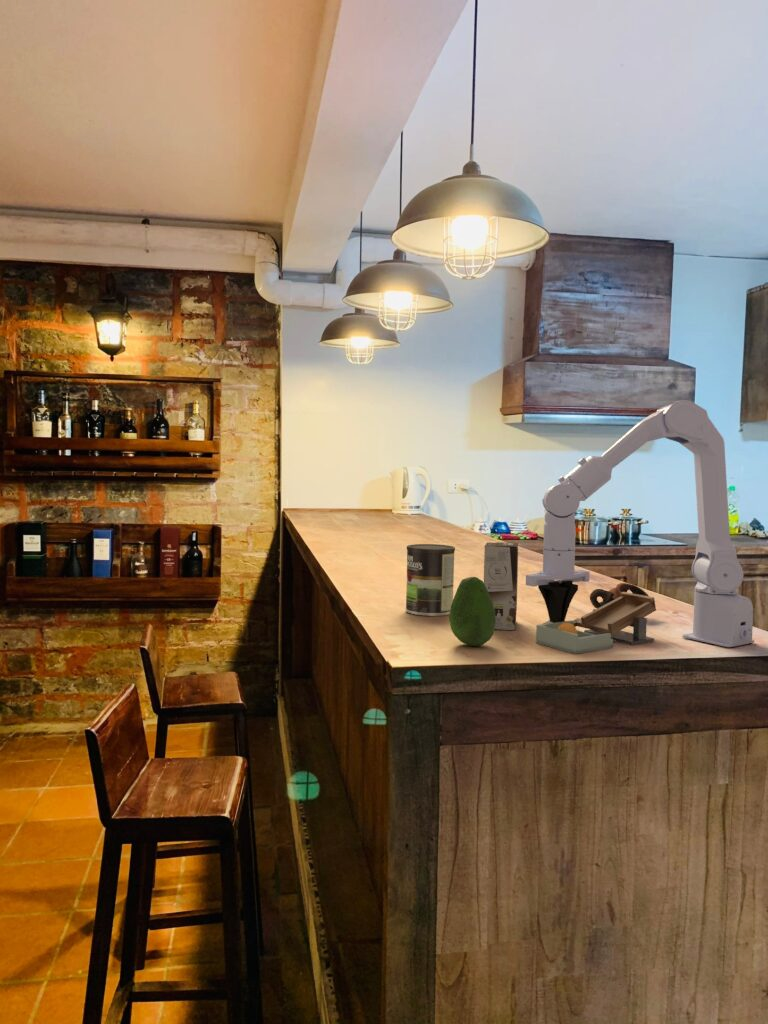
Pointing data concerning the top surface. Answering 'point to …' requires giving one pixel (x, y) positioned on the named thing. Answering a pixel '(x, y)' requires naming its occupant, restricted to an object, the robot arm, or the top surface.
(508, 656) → the top surface
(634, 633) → the fulcrum
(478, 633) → the avocado
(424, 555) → the coffee can
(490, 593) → the coffee box
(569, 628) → the ball
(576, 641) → the dish
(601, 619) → the lever
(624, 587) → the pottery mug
